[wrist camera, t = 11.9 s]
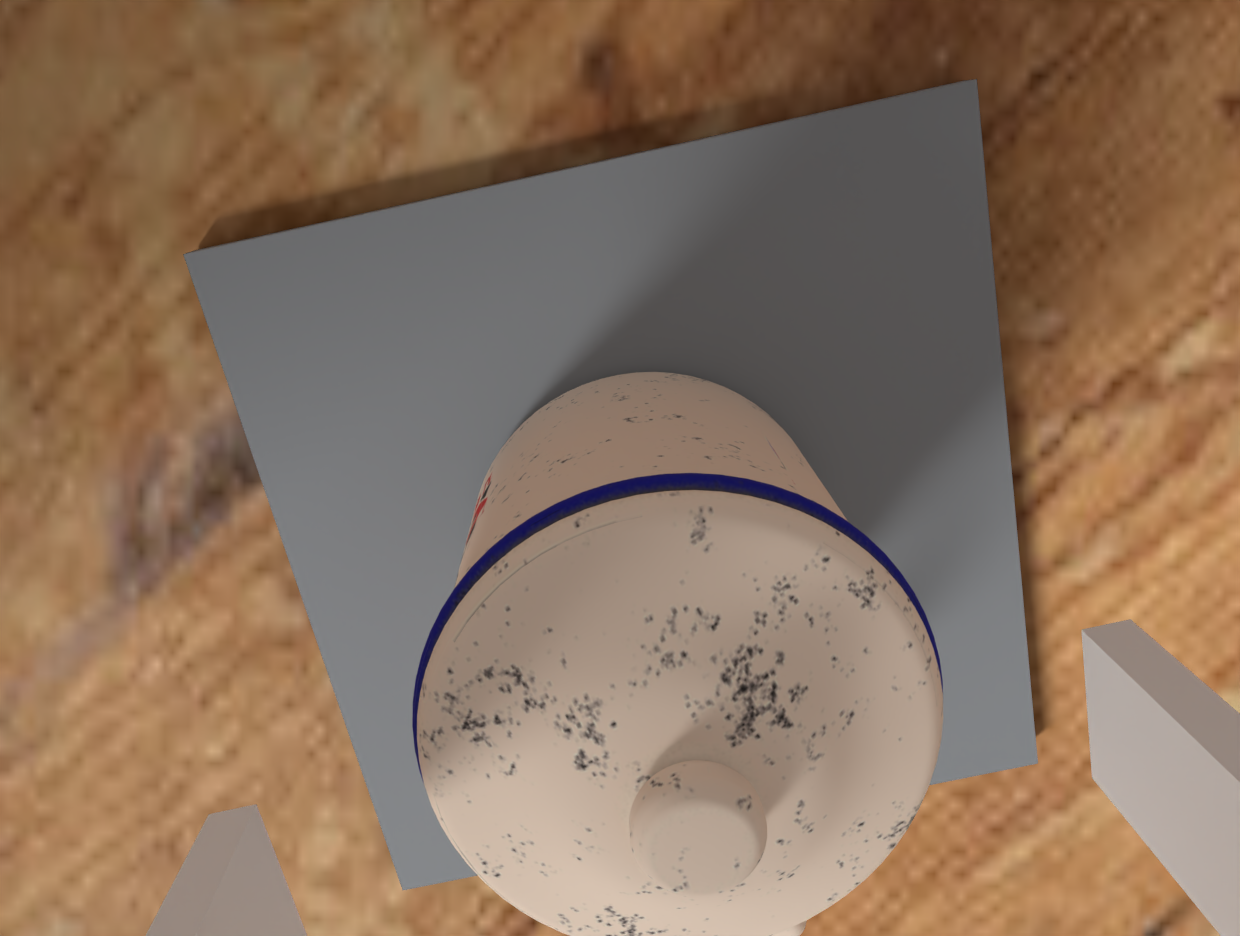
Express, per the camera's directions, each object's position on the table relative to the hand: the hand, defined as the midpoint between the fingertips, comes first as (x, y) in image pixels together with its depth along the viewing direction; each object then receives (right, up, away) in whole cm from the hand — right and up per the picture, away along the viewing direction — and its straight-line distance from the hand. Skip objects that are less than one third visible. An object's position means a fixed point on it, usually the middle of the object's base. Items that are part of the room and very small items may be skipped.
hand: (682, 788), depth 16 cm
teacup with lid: (0, +2, +10) cm, 10 cm away
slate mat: (0, +4, +10) cm, 11 cm away
